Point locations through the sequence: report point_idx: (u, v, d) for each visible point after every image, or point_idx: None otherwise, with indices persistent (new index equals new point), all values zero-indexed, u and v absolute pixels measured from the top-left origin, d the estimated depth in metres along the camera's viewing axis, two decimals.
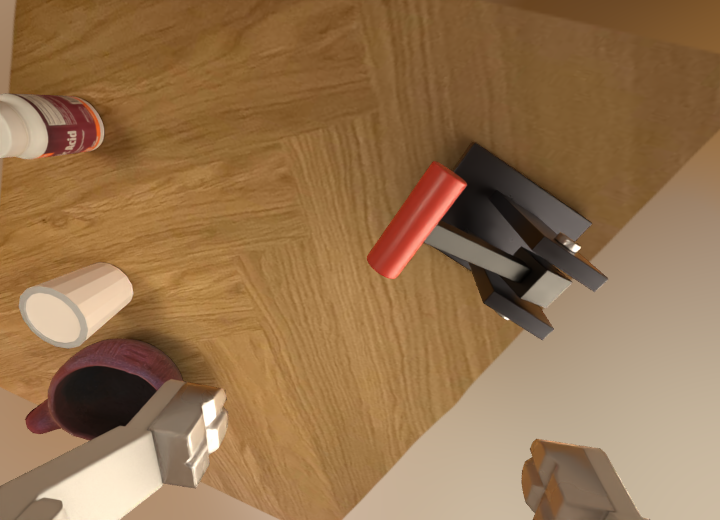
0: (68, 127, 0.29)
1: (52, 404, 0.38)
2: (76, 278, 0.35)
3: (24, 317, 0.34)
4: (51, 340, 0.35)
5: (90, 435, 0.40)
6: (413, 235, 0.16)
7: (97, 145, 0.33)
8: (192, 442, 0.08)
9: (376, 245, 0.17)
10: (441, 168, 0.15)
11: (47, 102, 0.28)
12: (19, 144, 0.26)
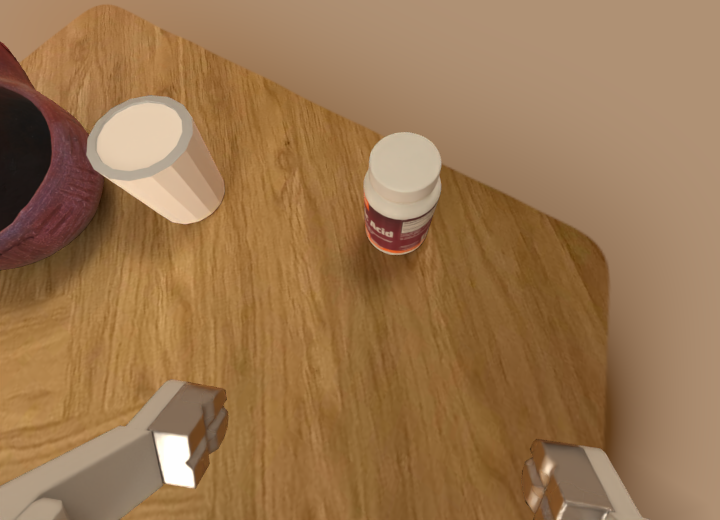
0: (397, 233, 0.23)
1: None
2: (200, 174, 0.25)
3: (151, 97, 0.24)
4: (107, 119, 0.24)
5: None
6: None
7: (371, 241, 0.27)
8: (192, 442, 0.08)
9: None
10: None
11: (427, 221, 0.23)
12: (384, 192, 0.20)
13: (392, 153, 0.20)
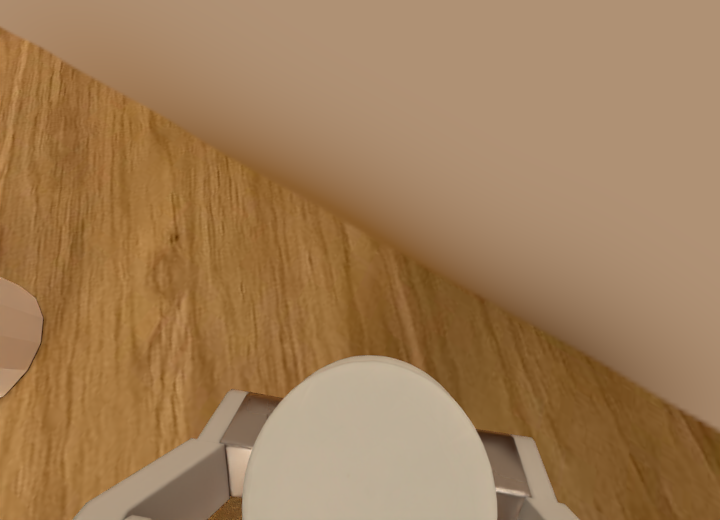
0: None
1: None
2: None
3: None
4: None
5: None
6: None
7: None
8: None
9: None
10: None
11: None
12: None
13: (325, 456, 0.06)
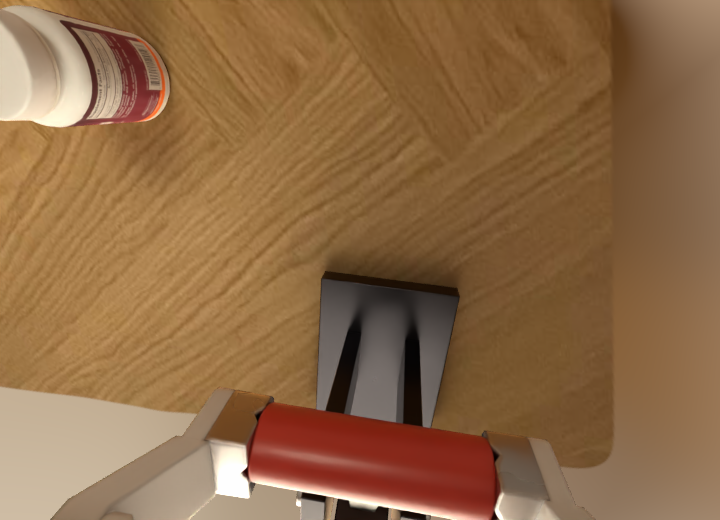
0: (109, 120, 0.18)
1: None
2: None
3: None
4: None
5: None
6: (353, 496, 0.08)
7: None
8: (248, 452, 0.08)
9: (294, 429, 0.08)
10: (494, 491, 0.08)
11: (119, 84, 0.17)
12: None
13: None
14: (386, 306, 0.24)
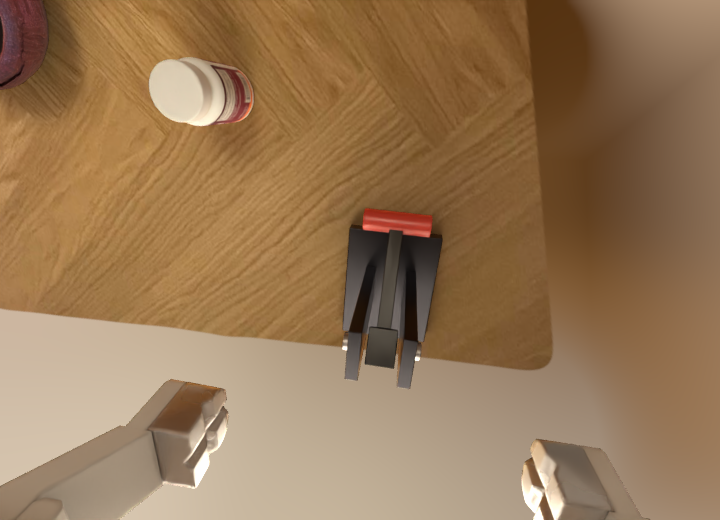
0: (224, 121, 0.30)
1: None
2: None
3: None
4: None
5: None
6: (394, 216, 0.29)
7: None
8: (191, 443, 0.08)
9: None
10: (431, 216, 0.29)
11: (234, 100, 0.29)
12: None
13: (164, 90, 0.25)
14: None
